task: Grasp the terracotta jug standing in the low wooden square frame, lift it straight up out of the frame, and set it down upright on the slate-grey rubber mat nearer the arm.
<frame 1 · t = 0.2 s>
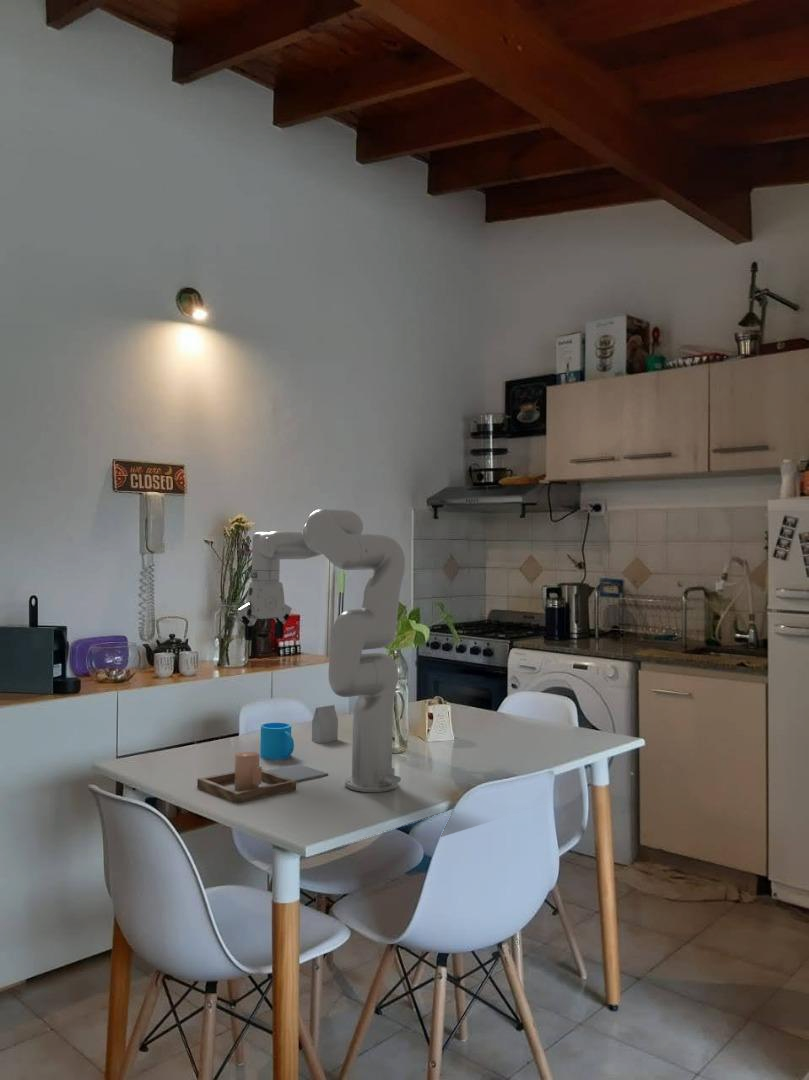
hand: (264, 639, 245), 31 cm above the table, fingers open, 9 cm apart
jug: (249, 772, 208), in the wooden square frame
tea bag: (324, 741, 261), on the table
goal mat: (293, 774, 222), on the table
mug: (279, 757, 240), on the table
wooden square frame: (246, 788, 209), on the table
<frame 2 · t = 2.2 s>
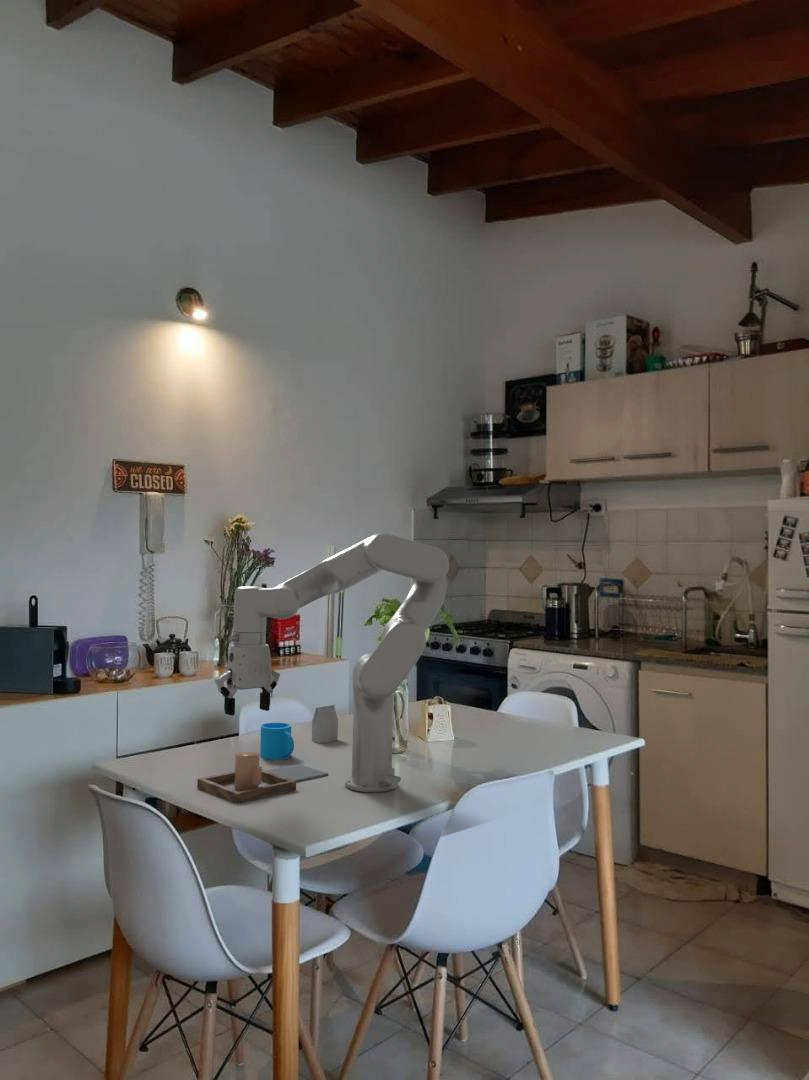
hand: (247, 712, 209), 18 cm above the table, fingers open, 9 cm apart
nothing on the table moved.
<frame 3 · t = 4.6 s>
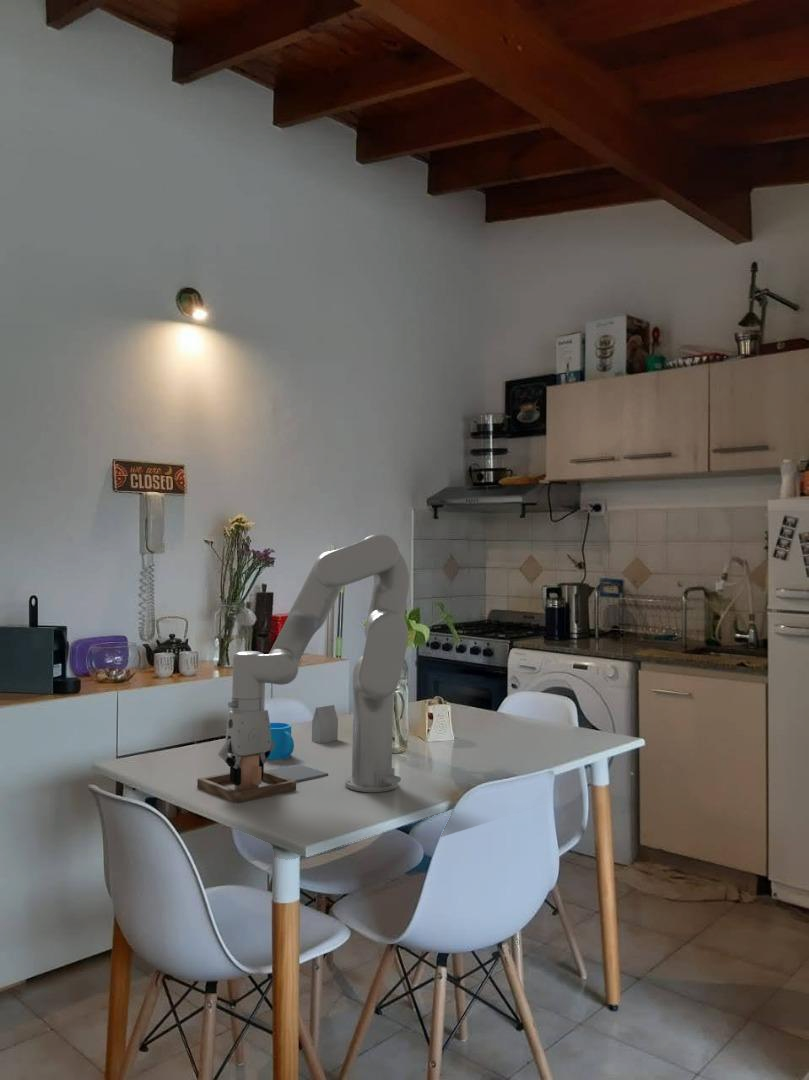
hand: (246, 781, 209), 2 cm above the table, fingers closed on jug, 5 cm apart
jug: (249, 772, 208), in the wooden square frame, touching gripper
everything else where it was.
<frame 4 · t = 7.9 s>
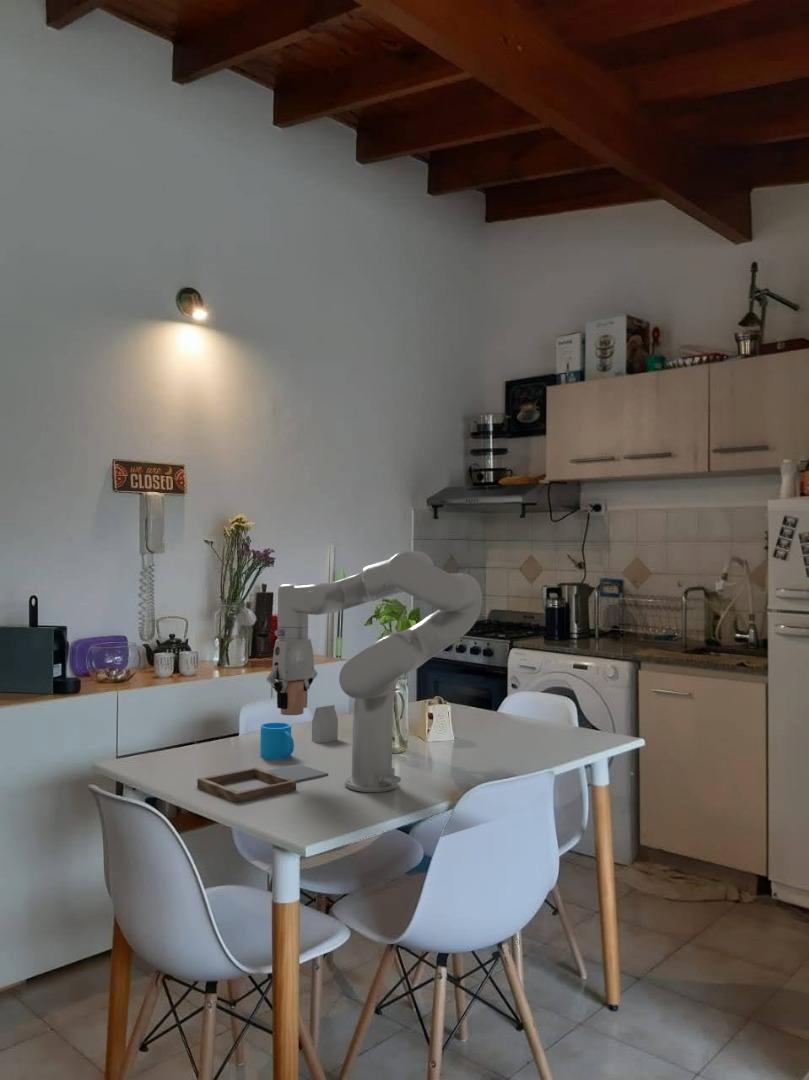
hand: (292, 706, 221), 17 cm above the table, fingers closed on jug, 5 cm apart
jug: (295, 697, 220), point 20 cm above the table, touching gripper
everything else where it was.
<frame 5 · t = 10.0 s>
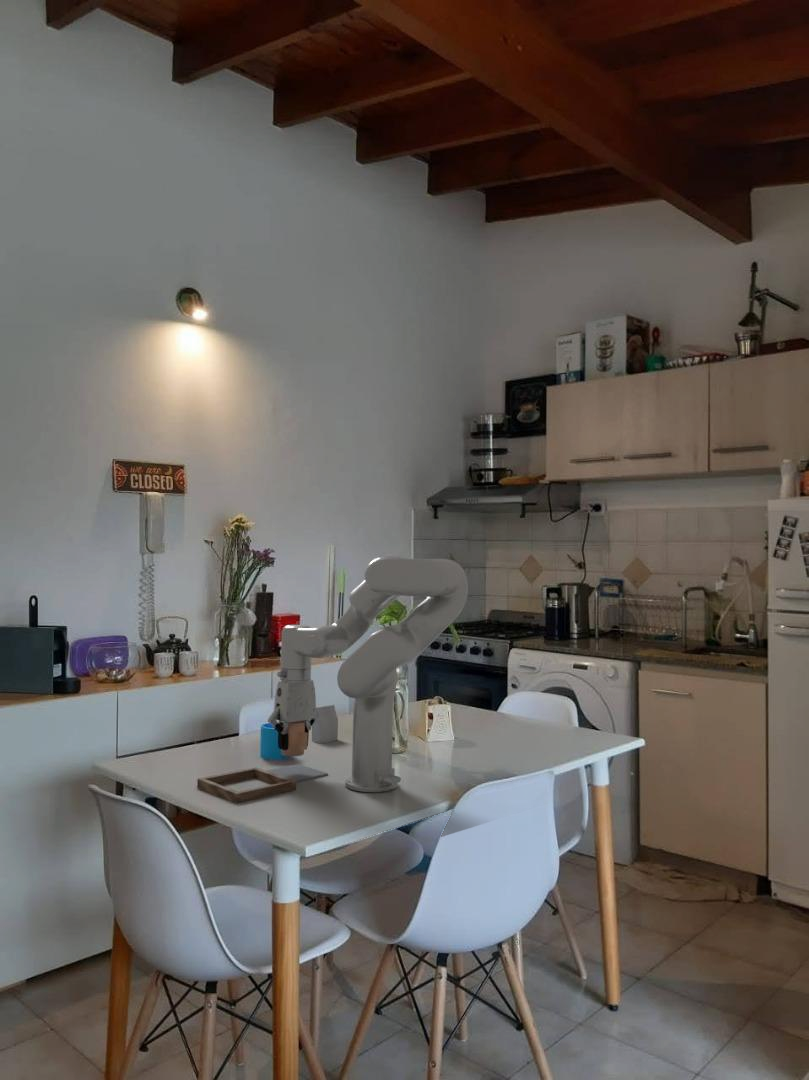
hand: (293, 746, 222), 7 cm above the table, fingers closed on jug, 5 cm apart
jug: (295, 738, 221), point 9 cm above the table, touching gripper
everything else where it was.
when the fingers open (4 cm above the table, at t = 11.5 s): jug drops 1 cm, resting on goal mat.
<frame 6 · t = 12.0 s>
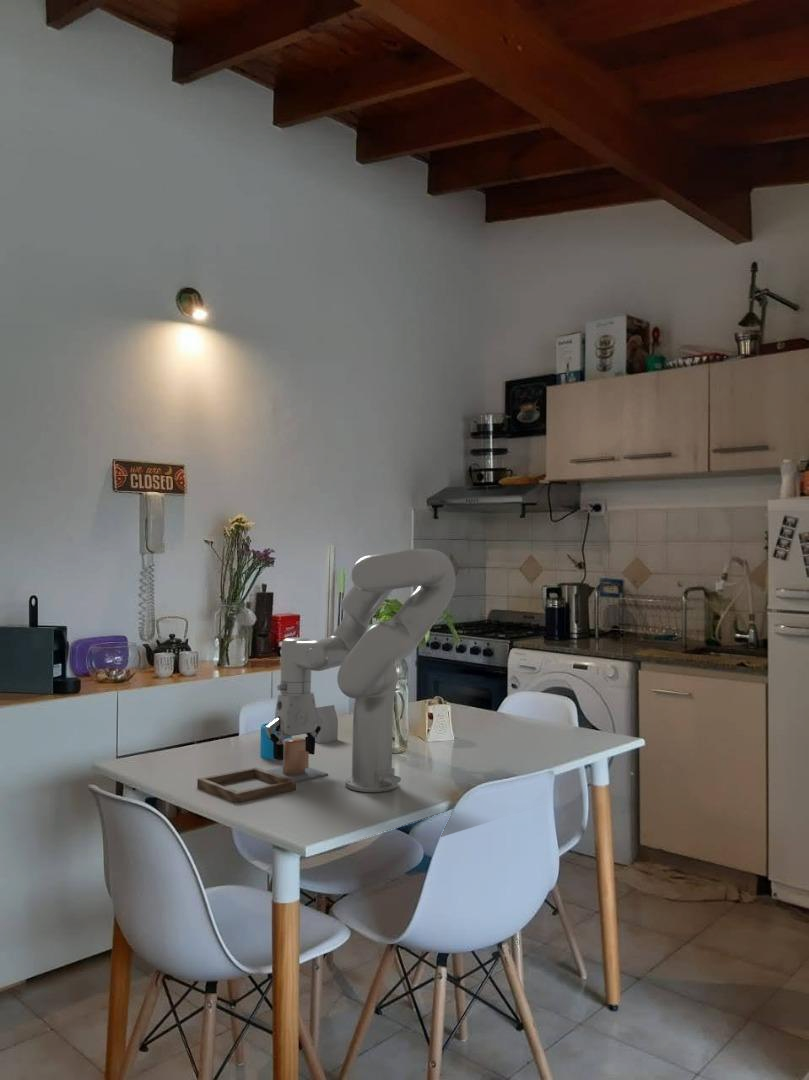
hand: (294, 756, 222), 4 cm above the table, fingers open, 9 cm apart
jug: (297, 757, 221), on the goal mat
everything else where it was.
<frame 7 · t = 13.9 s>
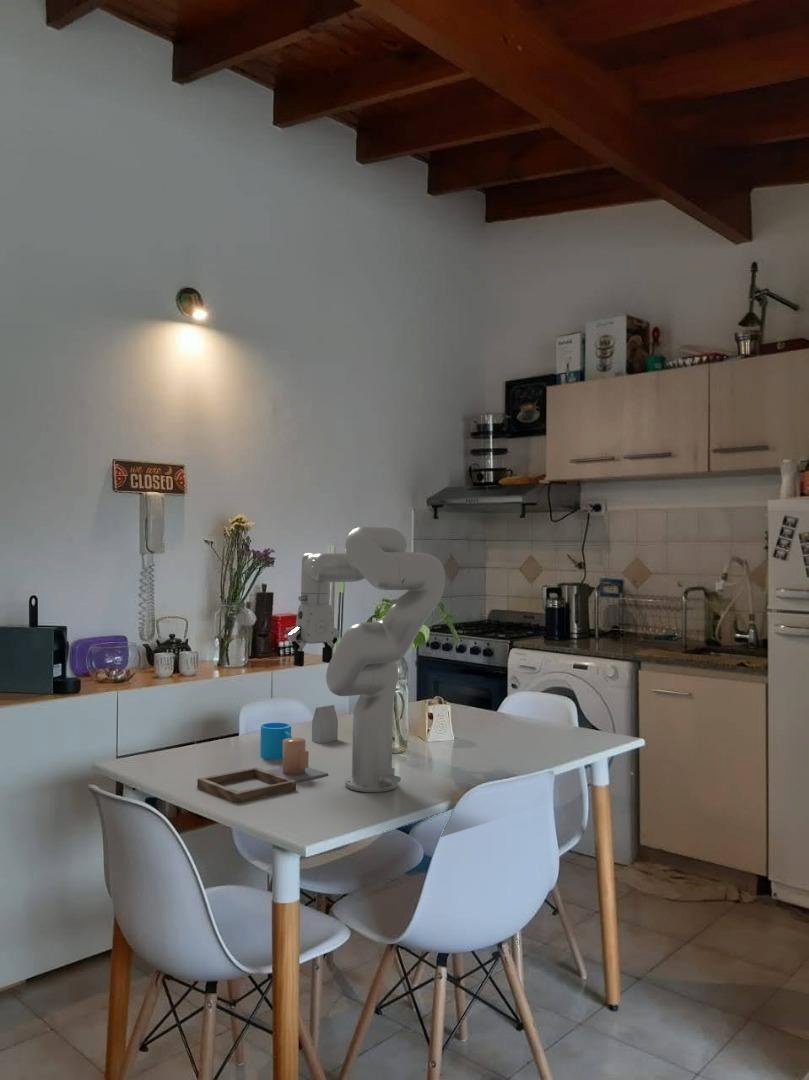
hand: (313, 664, 236), 26 cm above the table, fingers open, 9 cm apart
nothing on the table moved.
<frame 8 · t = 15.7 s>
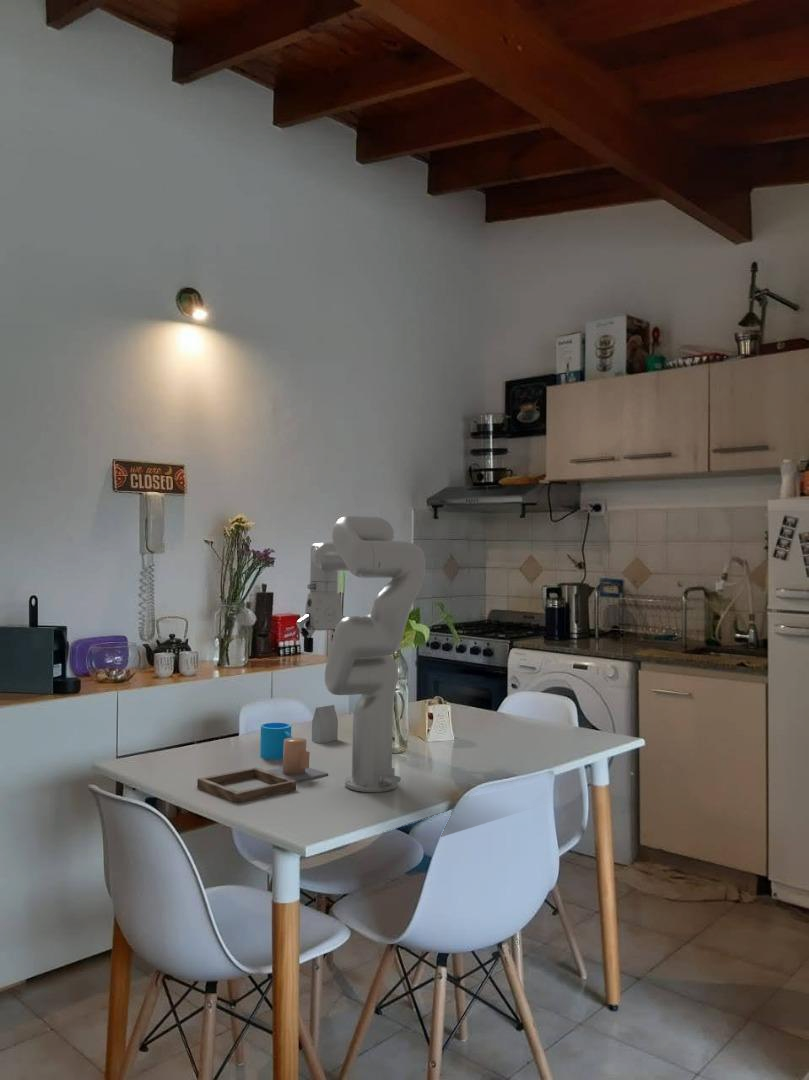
hand: (322, 650, 243), 28 cm above the table, fingers open, 9 cm apart
nothing on the table moved.
at the end: jug inside the target area (0.0 cm from its centre), point 4.5 cm above the table; jug tilted 1°; the gripper is holding nothing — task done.
